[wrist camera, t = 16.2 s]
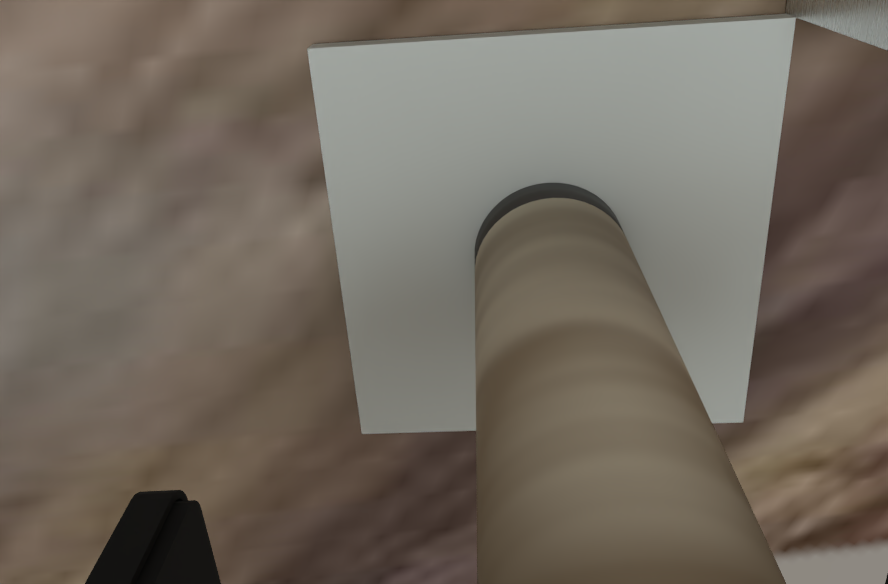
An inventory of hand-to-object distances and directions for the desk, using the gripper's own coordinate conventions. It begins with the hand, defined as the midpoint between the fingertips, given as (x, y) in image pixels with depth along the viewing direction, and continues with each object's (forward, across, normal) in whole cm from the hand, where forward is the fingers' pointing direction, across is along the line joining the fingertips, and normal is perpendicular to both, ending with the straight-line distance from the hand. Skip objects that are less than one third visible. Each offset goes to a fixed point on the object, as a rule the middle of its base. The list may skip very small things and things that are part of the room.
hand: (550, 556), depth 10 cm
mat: (+10, -1, 0) cm, 10 cm away
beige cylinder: (+9, -1, 0) cm, 9 cm away
